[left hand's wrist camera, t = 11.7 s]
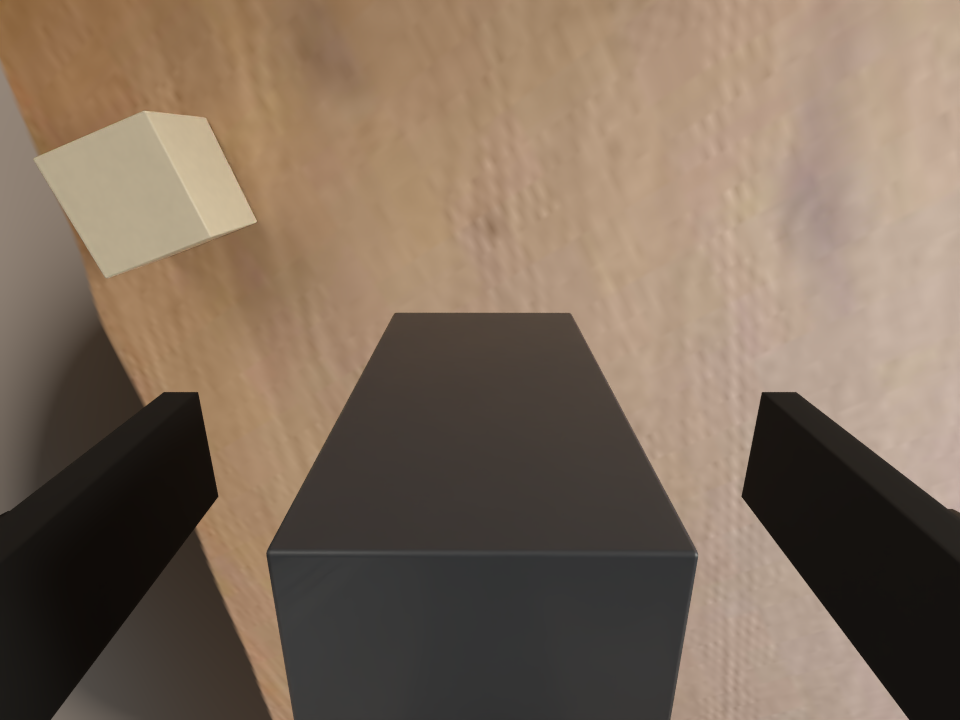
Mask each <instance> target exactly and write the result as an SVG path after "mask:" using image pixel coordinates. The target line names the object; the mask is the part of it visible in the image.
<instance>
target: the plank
mask: <svg viewBox="0 0 960 720" xmlns="http://www.w3.org/2000/svg"><path fill="white" fill-rule="evenodd" d="M266 554H267V561H268V567H269V573H270V579H271V585H272V591H273V597H274V603H275V609H276V615H277V621H278V627H279V633H280V639H281V645H282V651H283V657H284V663H285V669H286V674H287V680H288V686H289V692H290V698H291V704H292V710H293V716H294V720H670V718H671V712H672V706H673V700H674V695H675V689H676V683H677V677H678V671H679V665H680V659H681V654H682V648H683V642H684V636H685V630H686V624H687V618H688V612H689V607H690V601H691V595H692V589H693V583H694V577H695V571H696V565H697V560H698V553H697V550H696V548H695V546H694V545H693V543H692V541H691V539H690V537H689V535H688V533H687V531H686V529H685V528H684V526H683V524H682V522H681V520H680V518H679V516H678V514H677V512H676V511H675V509H674V507H673V505H672V503H671V501H670V499H669V497H668V495H667V494H666V492H665V490H664V488H663V486H662V484H661V482H660V480H659V479H658V477H657V475H656V473H655V471H654V469H653V467H652V465H651V463H650V462H649V460H648V458H647V456H646V454H645V452H644V450H643V448H642V446H641V445H640V443H639V441H638V439H637V437H636V435H635V433H634V431H633V430H632V428H631V426H630V424H629V422H628V420H627V418H626V416H625V414H624V413H623V411H622V409H621V407H620V405H619V403H618V401H617V399H616V397H615V396H614V394H613V392H612V390H611V388H610V386H609V384H608V382H607V380H606V379H605V377H604V375H603V373H602V371H601V369H600V367H599V365H598V364H597V362H596V360H595V358H594V356H593V354H592V352H591V350H590V348H589V347H588V345H587V343H586V341H585V339H584V337H583V335H582V333H581V331H580V330H579V328H578V326H577V324H576V322H575V320H574V318H573V316H572V315H571V314H570V313H395V314H394V315H393V317H392V319H391V321H390V323H389V324H388V326H387V328H386V330H385V332H384V334H383V336H382V337H381V339H380V341H379V343H378V345H377V347H376V349H375V350H374V352H373V354H372V356H371V358H370V360H369V362H368V364H367V365H366V367H365V369H364V371H363V373H362V375H361V377H360V378H359V380H358V382H357V384H356V386H355V388H354V390H353V391H352V393H351V395H350V397H349V399H348V401H347V403H346V404H345V406H344V408H343V410H342V412H341V414H340V416H339V418H338V419H337V421H336V423H335V425H334V427H333V429H332V431H331V432H330V434H329V436H328V438H327V440H326V442H325V444H324V445H323V447H322V449H321V451H320V453H319V455H318V457H317V458H316V460H315V462H314V464H313V466H312V468H311V470H310V472H309V473H308V475H307V477H306V479H305V481H304V483H303V485H302V486H301V488H300V490H299V492H298V494H297V496H296V498H295V499H294V501H293V503H292V505H291V507H290V509H289V511H288V513H287V514H286V516H285V518H284V520H283V522H282V524H281V526H280V527H279V529H278V531H277V533H276V535H275V537H274V539H273V540H272V542H271V544H270V546H269V548H268V550H267V553H266Z"/></svg>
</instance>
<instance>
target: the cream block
mask: <svg viewBox="0 0 960 720" xmlns="http://www.w3.org/2000/svg"><path fill="white" fill-rule="evenodd" d="M33 160H34V162H35V163H36V165H37V167H38V168H39V170H40V172H41V173H42V175H43V176H44V178H45V180H46V181H47V183H48V185H49V186H50V188H51V190H52V191H53V193H54V195H55V196H56V198H57V199H58V201H59V203H60V204H61V206H62V208H63V209H64V211H65V213H66V214H67V216H68V218H69V219H70V221H71V222H72V224H73V226H74V227H75V229H76V231H77V232H78V234H79V236H80V237H81V239H82V241H83V242H84V244H85V245H86V247H87V249H88V250H89V252H90V254H91V255H92V257H93V259H94V260H95V262H96V263H97V265H98V267H99V268H100V270H101V272H102V273H103V275H104V277H105V278H110V277H113V276H116V275H119V274H122V273H124V272H127V271H130V270H133V269H136V268H139V267H142V266H145V265H147V264H150V263H153V262H156V261H159V260H162V259H165V258H167V257H170V256H173V255H175V254H178V253H180V252H183V251H185V250H188V249H191V248H193V247H196V246H198V245H201V244H203V243H206V242H208V241H211V240H213V239H216V238H219V237H221V236H224V235H226V234H229V233H231V232H234V231H236V230H239V229H242V228H244V227H247V226H249V225H252V224H254V223H256V222H257V220H256V218H255V216H254V214H253V212H252V210H251V208H250V206H249V204H248V202H247V200H246V198H245V196H244V194H243V192H242V190H241V188H240V186H239V184H238V182H237V180H236V178H235V176H234V174H233V172H232V170H231V168H230V166H229V164H228V162H227V160H226V158H225V156H224V154H223V152H222V150H221V148H220V146H219V144H218V142H217V140H216V137H215V135H214V133H213V131H212V129H211V127H210V125H209V123H208V121H207V119H206V118H205V117H197V116H188V115H179V114H170V113H161V112H153V111H142V112H140V113H137V114H135V115H133V116H130V117H128V118H126V119H123V120H121V121H119V122H116V123H114V124H112V125H109V126H107V127H105V128H102V129H100V130H98V131H95V132H93V133H91V134H89V135H86V136H84V137H82V138H79V139H77V140H75V141H72V142H70V143H68V144H65V145H63V146H61V147H58V148H56V149H54V150H51V151H49V152H47V153H44V154H42V155H40V156H38V157H35V158H34V159H33Z"/></svg>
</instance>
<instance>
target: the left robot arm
mask: <svg viewBox="0 0 960 720" xmlns="http://www.w3.org/2000/svg"><path fill="white" fill-rule="evenodd" d="M217 498H218V492H217V487H216V482H215V477H214V472H213V466H212V461H211V456H210V451H209V446H208V441H207V436H206V431H205V425H204V420H203V415H202V410H201V405H200V400H199V395H198V392H164V393H162V394H161V395H160V396H158V397H157V398H156V399H154V400H153V401H152V402H151V403H149V404H148V405H147V406H145V407H144V408H143V409H142V410H140V411H139V412H138V413H136V414H135V415H134V416H132V417H131V418H130V419H129V420H127V421H126V422H125V423H123V424H122V425H121V426H119V427H118V428H117V429H116V430H114V431H113V432H112V433H110V434H109V435H108V436H106V437H105V438H104V439H103V440H101V441H100V442H99V443H97V444H96V445H95V446H94V447H92V448H91V449H90V450H88V451H87V452H86V453H84V454H83V455H82V456H81V457H79V458H78V459H77V460H75V461H74V462H73V463H71V464H70V465H69V466H68V467H66V468H65V469H64V470H62V471H61V472H60V473H59V474H57V475H56V476H55V477H53V478H52V479H51V480H49V481H48V482H47V483H46V484H44V485H43V486H42V487H40V488H39V489H38V490H36V491H35V492H34V493H33V494H31V495H30V496H29V497H27V498H26V499H25V500H24V501H22V502H21V503H20V504H18V505H17V506H16V507H15V508H13V509H12V510H11V511H7V512H5V513H3V514H1V515H0V720H51V719H52V717H53V716H54V715H55V713H56V712H57V711H58V709H59V708H60V707H61V705H62V704H63V703H64V701H65V700H66V699H67V697H68V696H69V695H70V693H71V692H72V691H73V689H74V688H75V687H76V685H77V684H78V683H79V681H80V680H81V679H82V677H83V676H84V675H85V673H86V672H87V671H88V669H89V668H90V667H91V665H92V664H93V663H94V661H95V660H96V659H97V657H98V656H99V655H100V653H101V652H102V651H103V649H104V648H105V647H106V645H107V644H108V643H109V641H110V640H111V639H112V637H113V636H114V635H115V634H116V632H117V631H118V630H119V628H120V627H121V626H122V624H123V623H124V621H125V620H126V619H127V618H128V616H129V615H130V614H131V612H132V611H133V610H134V608H135V607H136V606H137V604H138V603H139V602H140V600H141V599H142V598H143V596H144V595H145V594H146V592H147V591H148V590H149V588H150V587H151V586H152V584H153V583H154V582H155V580H156V579H157V578H158V576H159V575H160V574H161V572H162V571H163V570H164V568H165V567H166V566H167V564H168V563H169V562H170V560H171V559H172V558H173V556H174V555H175V554H176V552H177V551H178V550H179V548H180V547H181V546H182V544H183V543H184V542H185V540H186V539H187V538H188V536H189V535H190V534H191V532H192V531H193V530H194V528H195V527H196V526H197V524H198V523H199V522H200V520H201V519H202V518H203V516H204V515H205V514H206V512H207V511H208V510H209V508H210V507H211V506H212V504H213V503H214V502H215V500H216V499H217ZM742 498H743V499H744V500H745V502H746V503H747V504H748V506H749V507H750V508H751V510H752V511H753V512H754V514H755V515H756V516H757V518H758V519H759V520H760V522H761V523H762V524H763V526H764V527H765V528H766V530H767V531H768V532H769V534H770V535H771V536H772V538H773V539H774V540H775V542H776V543H777V544H778V546H779V547H780V548H781V550H782V551H783V552H784V554H785V555H786V556H787V558H788V559H789V560H790V562H791V563H792V564H793V566H794V567H795V568H796V570H797V571H798V572H799V574H800V575H801V576H802V578H803V579H804V580H805V582H806V583H807V584H808V586H809V587H810V588H811V590H812V591H813V592H814V594H815V595H816V596H817V598H818V599H819V600H820V602H821V603H822V604H823V606H824V607H825V608H826V610H827V611H828V612H829V614H830V615H831V616H832V618H833V619H834V620H835V622H836V623H837V624H838V626H839V627H840V628H841V629H842V631H843V632H844V633H845V635H846V636H847V637H848V639H849V640H850V641H851V643H852V644H853V645H854V647H855V648H856V649H857V651H858V652H859V653H860V655H861V656H862V657H863V659H864V660H865V661H866V663H867V664H868V665H869V667H870V668H871V669H872V671H873V672H874V673H875V675H876V676H877V677H878V679H879V680H880V681H881V683H882V684H883V685H884V687H885V688H886V689H887V691H888V692H889V693H890V695H891V696H892V697H893V699H894V700H895V701H896V703H897V704H898V705H899V707H900V708H901V709H902V711H903V712H904V713H905V715H906V716H907V717H908V719H909V720H960V513H959V512H957V511H955V510H953V509H947V508H946V507H944V506H943V505H942V504H940V503H939V502H938V501H936V500H935V499H934V498H933V497H931V496H930V495H929V494H927V493H926V492H925V491H924V490H922V489H921V488H920V487H918V486H917V485H916V484H914V483H913V482H912V481H911V480H909V479H908V478H907V477H905V476H904V475H903V474H901V473H900V472H899V471H898V470H896V469H895V468H894V467H892V466H891V465H890V464H889V463H887V462H886V461H885V460H883V459H882V458H881V457H879V456H878V455H877V454H876V453H874V452H873V451H872V450H870V449H869V448H868V447H866V446H865V445H864V444H863V443H861V442H860V441H859V440H857V439H856V438H855V437H854V436H852V435H851V434H850V433H848V432H847V431H846V430H844V429H843V428H842V427H841V426H839V425H838V424H837V423H835V422H834V421H833V420H831V419H830V418H829V417H828V416H826V415H825V414H824V413H822V412H821V411H820V410H819V409H817V408H816V407H815V406H813V405H812V404H811V403H809V402H808V401H807V400H806V399H804V398H803V397H802V396H800V395H799V394H798V393H796V392H762V395H761V400H760V405H759V410H758V415H757V420H756V426H755V431H754V436H753V441H752V446H751V451H750V456H749V461H748V466H747V472H746V477H745V482H744V487H743V492H742Z"/></svg>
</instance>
